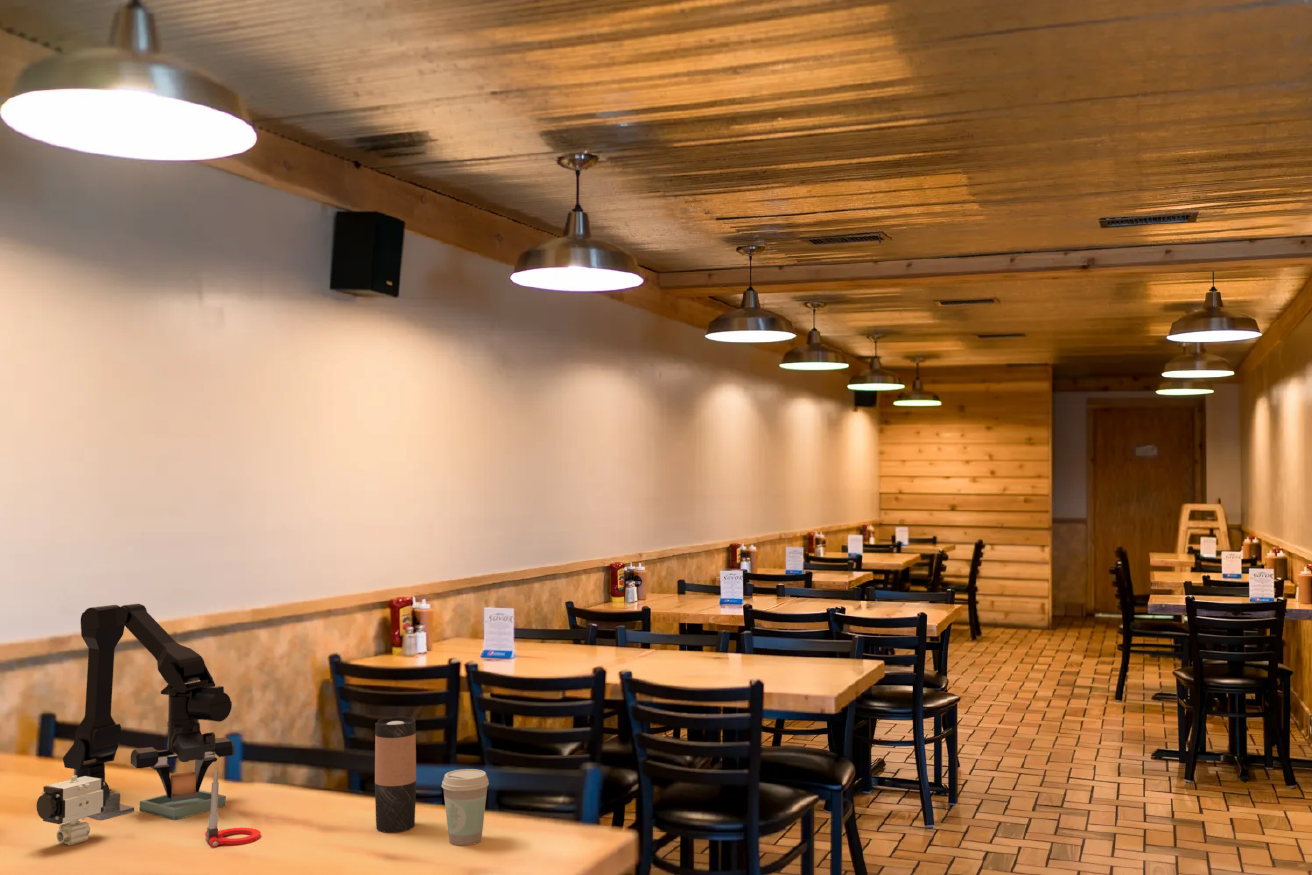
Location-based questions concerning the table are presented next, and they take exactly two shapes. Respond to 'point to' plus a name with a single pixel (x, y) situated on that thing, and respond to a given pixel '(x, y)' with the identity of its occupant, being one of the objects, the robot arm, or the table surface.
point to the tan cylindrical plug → (183, 786)
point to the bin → (179, 805)
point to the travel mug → (395, 774)
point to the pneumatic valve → (73, 806)
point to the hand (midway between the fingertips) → (182, 795)
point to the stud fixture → (113, 808)
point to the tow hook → (215, 835)
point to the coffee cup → (465, 805)
